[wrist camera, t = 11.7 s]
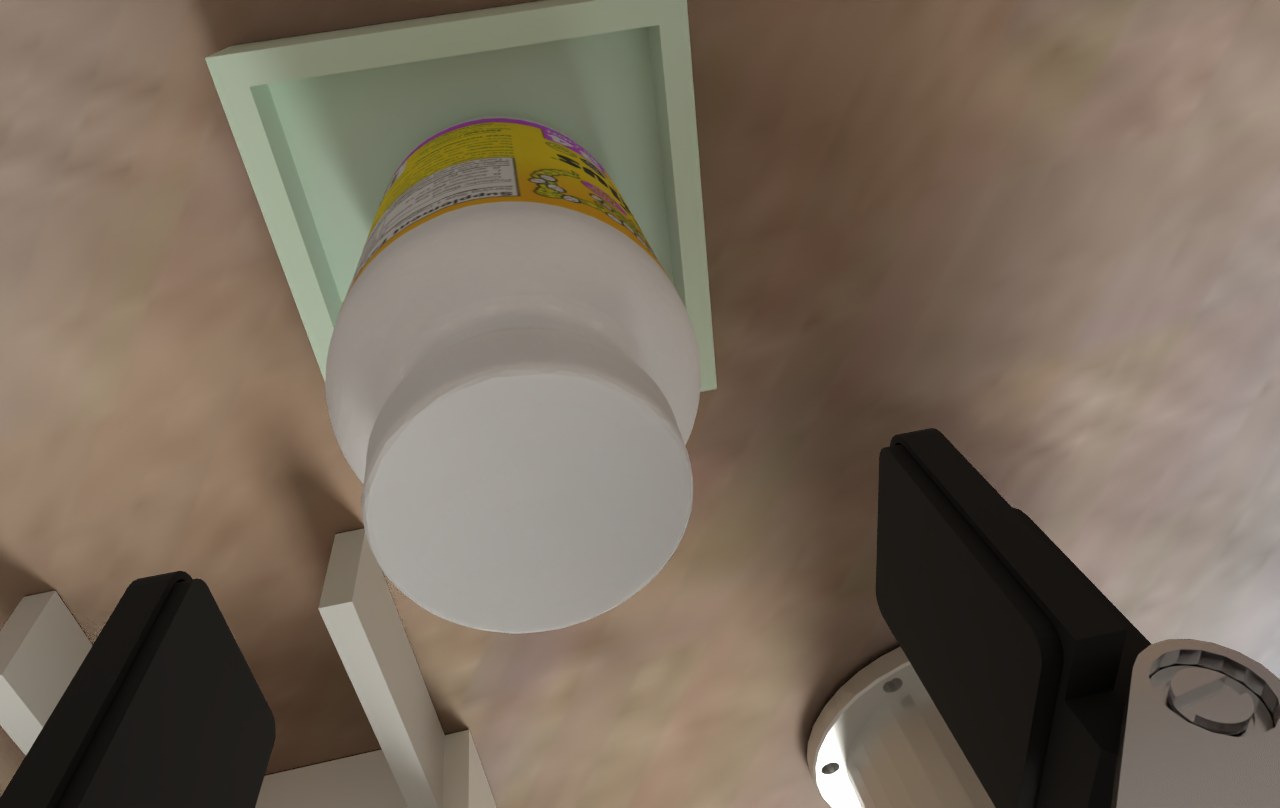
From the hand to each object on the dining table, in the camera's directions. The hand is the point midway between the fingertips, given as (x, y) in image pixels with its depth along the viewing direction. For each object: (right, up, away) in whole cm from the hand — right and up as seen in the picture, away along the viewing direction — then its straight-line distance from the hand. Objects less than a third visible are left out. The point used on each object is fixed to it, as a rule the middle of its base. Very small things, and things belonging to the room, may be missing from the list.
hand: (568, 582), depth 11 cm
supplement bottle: (-3, +7, +11) cm, 14 cm away
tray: (-3, +8, +12) cm, 14 cm away
